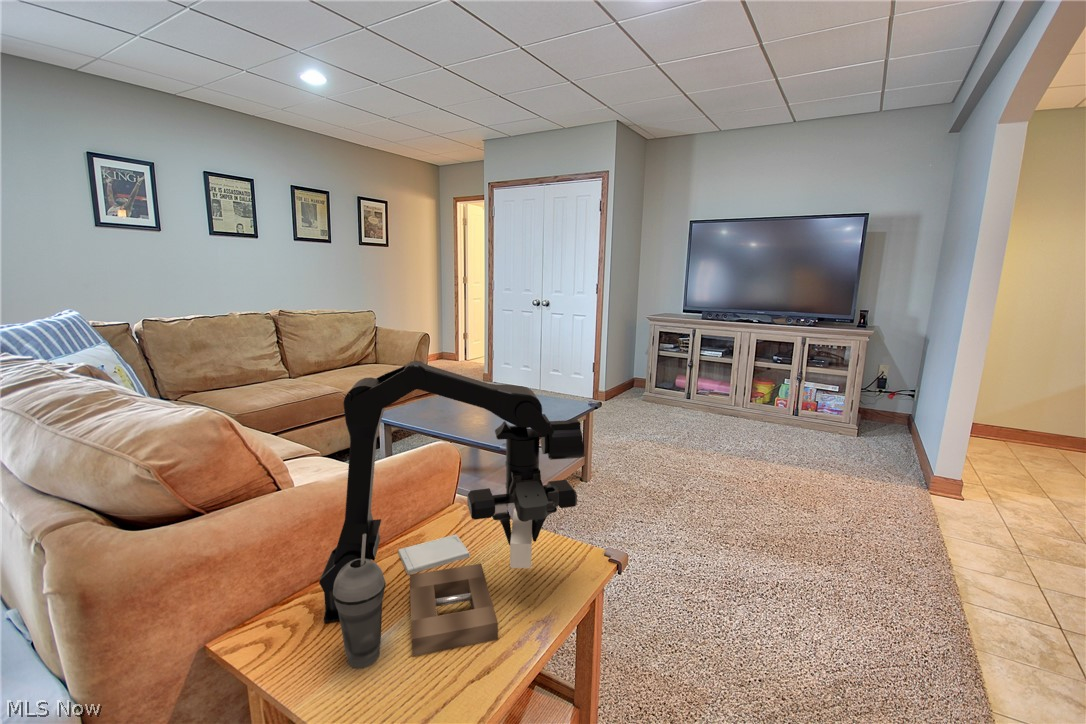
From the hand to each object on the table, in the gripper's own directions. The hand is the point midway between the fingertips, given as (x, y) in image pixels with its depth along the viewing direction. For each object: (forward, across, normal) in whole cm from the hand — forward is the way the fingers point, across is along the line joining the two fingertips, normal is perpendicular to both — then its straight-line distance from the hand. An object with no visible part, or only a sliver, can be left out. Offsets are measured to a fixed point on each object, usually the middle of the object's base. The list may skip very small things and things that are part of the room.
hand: (522, 542), depth 86 cm
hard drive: (+10, -15, +15) cm, 23 cm away
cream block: (+1, 0, 0) cm, 1 cm away
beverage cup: (+9, -27, -9) cm, 30 cm away
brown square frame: (+9, -13, -3) cm, 16 cm away
